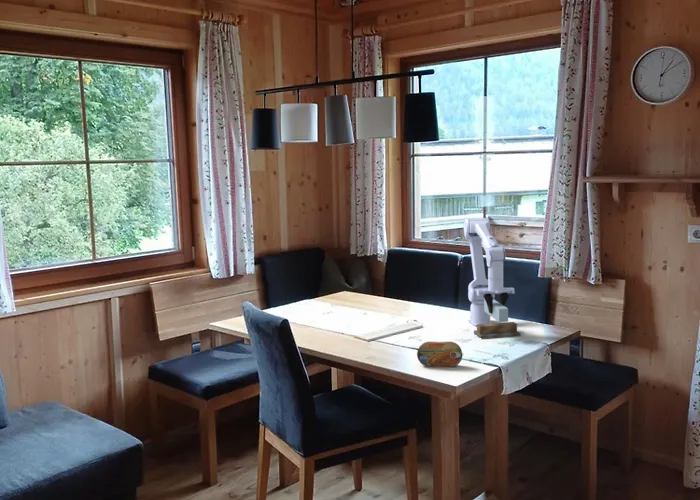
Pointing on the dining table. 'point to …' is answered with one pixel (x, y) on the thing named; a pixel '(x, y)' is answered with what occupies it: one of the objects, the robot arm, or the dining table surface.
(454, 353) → the tin
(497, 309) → the beam
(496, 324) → the stand
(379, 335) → the baseboard
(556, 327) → the dining table surface
